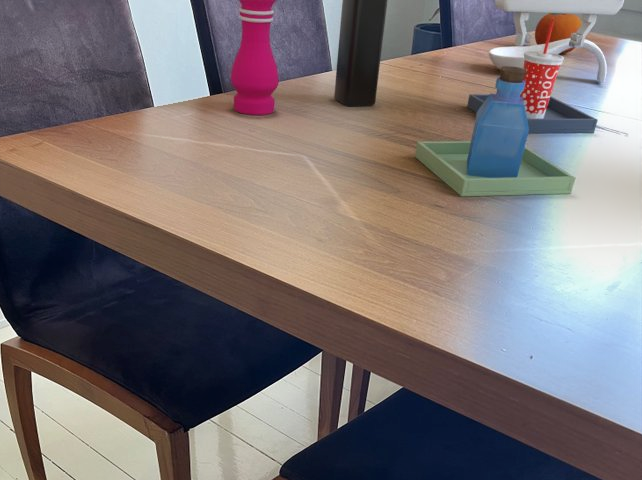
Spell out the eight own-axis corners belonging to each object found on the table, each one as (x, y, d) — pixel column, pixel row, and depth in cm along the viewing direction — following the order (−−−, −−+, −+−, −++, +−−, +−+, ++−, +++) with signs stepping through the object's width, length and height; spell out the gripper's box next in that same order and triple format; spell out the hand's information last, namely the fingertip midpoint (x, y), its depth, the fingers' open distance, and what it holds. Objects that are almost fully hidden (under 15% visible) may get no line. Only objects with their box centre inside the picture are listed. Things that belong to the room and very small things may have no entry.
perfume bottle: (516, 181, 93) (541, 77, 85) (467, 174, 93) (488, 71, 86) (513, 166, 98) (537, 67, 90) (467, 160, 98) (487, 61, 91)
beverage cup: (518, 120, 117) (542, 20, 108) (504, 110, 122) (526, 13, 113) (554, 122, 118) (580, 22, 109) (539, 111, 123) (563, 16, 114)
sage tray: (514, 155, 103) (517, 140, 102) (571, 193, 92) (575, 177, 91) (414, 156, 100) (417, 141, 98) (461, 196, 88) (464, 179, 87)
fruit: (575, 51, 175) (585, 12, 170) (578, 59, 167) (589, 19, 162) (530, 45, 176) (539, 7, 171) (531, 53, 168) (540, 13, 163)
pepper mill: (237, 101, 116) (239, -51, 103) (282, 107, 115) (289, -46, 103) (224, 112, 110) (224, -47, 98) (271, 118, 109) (277, -42, 97)
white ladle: (485, 74, 146) (493, 34, 141) (485, 63, 155) (492, 25, 150) (606, 88, 143) (618, 47, 139) (598, 76, 152) (610, 37, 148)
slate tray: (545, 107, 128) (549, 95, 126) (594, 132, 116) (598, 119, 115) (466, 107, 124) (469, 94, 123) (508, 133, 112) (511, 119, 111)
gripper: (519, -65, 100) (497, 49, 108) (647, -57, 105) (616, 51, 113) (498, -68, 105) (478, 41, 113) (621, -61, 109) (593, 43, 118)
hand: (548, 46), depth 113 cm, fingers open, 8 cm apart
